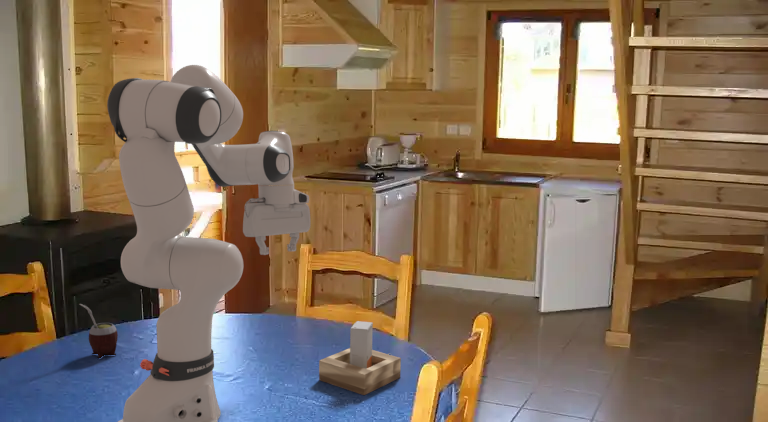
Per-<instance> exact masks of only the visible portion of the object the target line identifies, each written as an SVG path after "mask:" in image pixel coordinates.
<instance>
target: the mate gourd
mask: <svg viewBox="0 0 768 422" xmlns="http://www.w3.org/2000/svg"><path fill="white" fill-rule="evenodd" d="M78 305H80V306H81V307H82V308H85V310H87V313H88V314H89V316H90V318H91V320H92V322H93V325H92V326H91V327H90V328H89V329H90V330H89V333H88V342H89V345H90V347H91V349H92V352H91V355H92V354H98V357H97V358H101V357H102V356H104V355H116V356H117V353H116V350H117V343H118V336H119V334H118V330H117V328H116V325H114V324H113V323H110V322H100V323H96V320H95V318H94V316H93V312H92V310H91V309H90V307H88V306H87V305H85V304H82V303H78ZM104 357H105V356H104Z"/></svg>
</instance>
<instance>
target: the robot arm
mask: <svg viewBox="0 0 768 422" xmlns="http://www.w3.org/2000/svg"><path fill="white" fill-rule="evenodd" d="M106 104H107V113H108V116H109V120H110V123H111V125H112V126H113V130H114V132H115V134H116V136H117V137H118V138H119V140H121V141H123V142H124V143H123V145H122V147H120V151H119V155H118V161H119V169H120V175H121V179H122V183H123V187H124V190H125V194H126V196H127V200H128V201H129V205H130V208H131V211H132V213H133V217H134V221H135V224H136V235H135V236H134V237H133V238H132V239H130V240H129V241H128V242H127V243H126V245H125V246H124V248H123V250H122V252H121V256H120V268H121V271H122V275H124V278H125V279H126V280H127V281H128V282H130V283H133V284H136V285H139V286H141V287H142V286H143V287H147V288H150V289H160V290H161V289H162V290H163V289H165V290H172V291H173V290H175V291H179V293H180V294H179V295H180V296H179V302H178V303H176V304H174V305H172V306H170V307H168V308H166V309H165V310H164V311H162V312H161V313H160V315H158V318H157V321H156V323H155V324H156V327H155V328H156V349H157V351H156V352H157V353H156V354H155V357H154V359H153V361H151V360H149V359H147V358H146V359H145V358H144V359H142V360H141V362H140V364H139V366H140V368H141V369H142V370H145V371H150V373H149V374H150V375H148V377H147V378H145V380H144V381H143V382H142V383H141V384H140V385H139V386H138V387H137V388H136V389H135V391H133V392H132V393H131V395H130V396H128V398H127V399H126V400H125V403H124V407H123V413H122V419H120V420H118V421H117V422H218V420H219V418H220V417H221V413H222V411H221V408H220V405H219V402H218V399H217V394H216V390H215V389H216V388H215V382H214V375H213V372H214V371H213V369H214V368H215V356H214V354H215V353H214V350H213V348H212V332H213V331H212V328H213V316H214V313H215V310H216V307H217V305H218V304H219V302H220V301H221V299H222V297H224V296H225V294H227V293H228V292H229V291H230V290H232V289H233V288H234V287H236V285H238V283H239V281H240V280H241V278H242V275H243V272H244V259H243V255H242V253H241V251H240V250H239V248H238V246H237V245H235V244H234V243H230V242H227V241H224V240H219V239H216V238H206V237H205V238H204V237H192V236H189V237H188V236H183V235H180V234H182V233H183V232H184V231H185V230H186V229H188V227H190V225H191V224H192V222H193V220H194V215H195V209H194V205H193V201H192V198H191V194H190V192H189V188H188V185H187V182H186V178H185V175H184V173H183V170H182V168H181V165H180V163H179V161H178V159H177V157H176V155H175V143H186V144H191V146H192V147H193V148H194V150H195V152H196V153H197V155H198V156H199V157H200V159H201V161H202V162H203V164H204V166H206V169H207V170H206V171H207V172H208V175H209V178H210V179H211V180H212V181H213V182H214V183H215V184H216V185H217V186H219V187H221V188H225V187H232V186H234V187H235V186H246V185H247V186H251V185H258V186H257V187H258V197H257V198H249V199H248V200H247V201H246V202H245V204H244V212H243V219H242V220H243V222H242V233H243V235H244V236H245V238H246V237H247V238H255V242H256V245H257V246H258V248H259V254H260V255H261V256H266V255H269V254H270V251H269V250H270V247H269V246H268V247H267V245H266V243H265V241H266V240H267V238H266V236H267V237H269V236H278V235H287V234H289V238H290V240H289V243H288V244H286V245H287V246H286V247H287V252H296V251H297V244H298V242H299V239H300V233H301V234H302V233H307V232H309V230H310V229H311V210H310V207H309V203H310V196H309V194H307V193H304V192H302V191H300V190H298V189H295V181H294V178H293V172H294V154H293V152H294V151H293V145H292V140H291V136H290V135H289V134H288V133H286V132H285V131H279V130H265V131H262V132H260V134H259V136H258V141H257V142H256V143H249V144H247V143H246V144H224V143H226V142H228V141H230V140H231V139H232V138H234V137H235V136H236V134H238V131H239V130H240V128H241V126H242V124H243V120H244V109H243V106H242V104H241V102H240V100H239V99H238V97H237V96H236V95H235V93H234V92H233V91H232V90H231V89H230V88H229V87H228V85H227V84H226V83H225V82H224V81H222V79H221V78H220V77H219V76H217V75H216V74H215V73H213V72H212V71H211V70H209V69H208V68H206V66H205V67H204V66H202V65H200V64H199V65H198V64H189V65H186V66H183V67H181V68H179V70H177V71H175V73H174V74H173V76H172V77H171V80H170V81H169V80H162V79H143V78H139V77H133V78H132V77H131V78H125V79H122V80H119V81H118V82H116V83H115V84H114V85H113V86H112V88H111V90H110V92H109V94H108V97H107V103H106Z"/></svg>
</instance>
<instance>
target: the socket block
mask: <svg viewBox="0 0 768 422" xmlns="http://www.w3.org/2000/svg"><path fill="white" fill-rule="evenodd" d="M389 354H390V353H384V352H382V351H378V350H374V349H372V366H371V367H369V368H367V369H365V368H362V367H358V366H355V365H352V364H350V347H349V348H346V349H344V350H341V351H339V352H336V353H334V354H332V355H329V356H326V357H325V358H322V359H319V360H318V363H319V364H318V374H319V375H318V380H319V381H321V382H324V383H327V384H329V385H332V386H335V387H339V388H341V389H345V390H346V391H350V392H353V393H356V394H359V395H362V396H366V395H368V394H370V393H371V392H373V391H376V390H378V389H380V388H382V387H384V386H387V385H388V384H390V383H391V382H394V381H397V380H398V379H400V378H401V367H402V366H401V361H402V358H401V357H399V356H396V355H392V354H391V355H389Z"/></svg>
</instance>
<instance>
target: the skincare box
mask: <svg viewBox="0 0 768 422" xmlns="http://www.w3.org/2000/svg"><path fill="white" fill-rule="evenodd" d="M373 325H374V323H373V322H370V321H359V320H356V321H355V322H354V323H353V324H352V326H351V327H350V331H349V332H350V333H349V335H350V339H349V340H350V341H349V343H350V344H349V348H350V364H352V365H355V366H358V367H362V368H365V369H367V368H369V367H371V366H372V350H373V328H374V327H373Z"/></svg>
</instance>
